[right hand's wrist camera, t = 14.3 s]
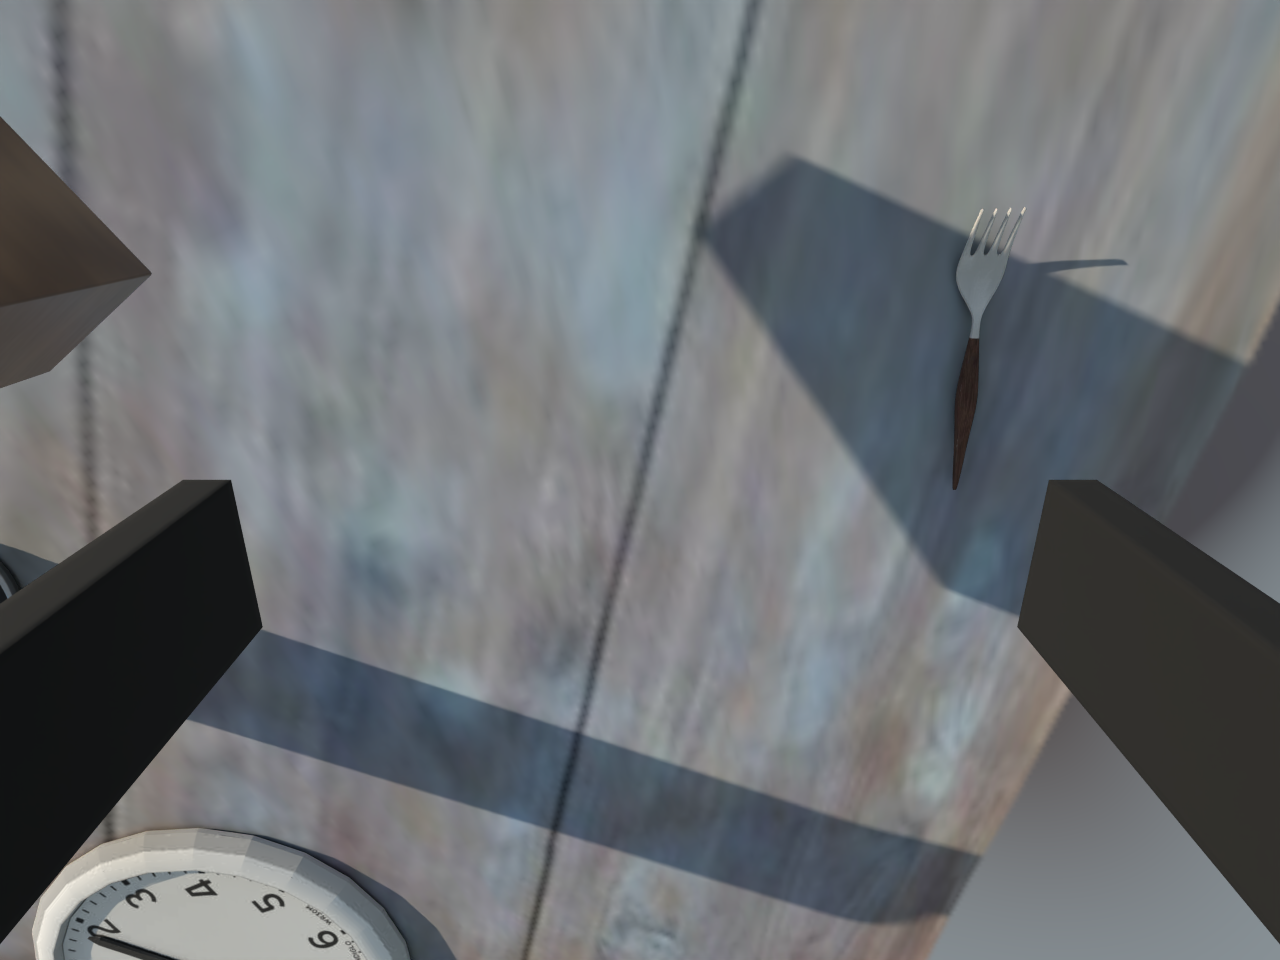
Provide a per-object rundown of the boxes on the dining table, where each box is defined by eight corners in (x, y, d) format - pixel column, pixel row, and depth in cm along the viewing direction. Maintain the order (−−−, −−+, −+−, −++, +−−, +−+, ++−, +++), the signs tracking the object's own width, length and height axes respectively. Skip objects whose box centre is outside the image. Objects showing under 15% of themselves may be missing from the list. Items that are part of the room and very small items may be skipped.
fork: (929, 487, 46) (941, 500, 44) (962, 207, 40) (978, 208, 38) (972, 485, 46) (986, 498, 44) (1012, 205, 40) (1030, 207, 38)
